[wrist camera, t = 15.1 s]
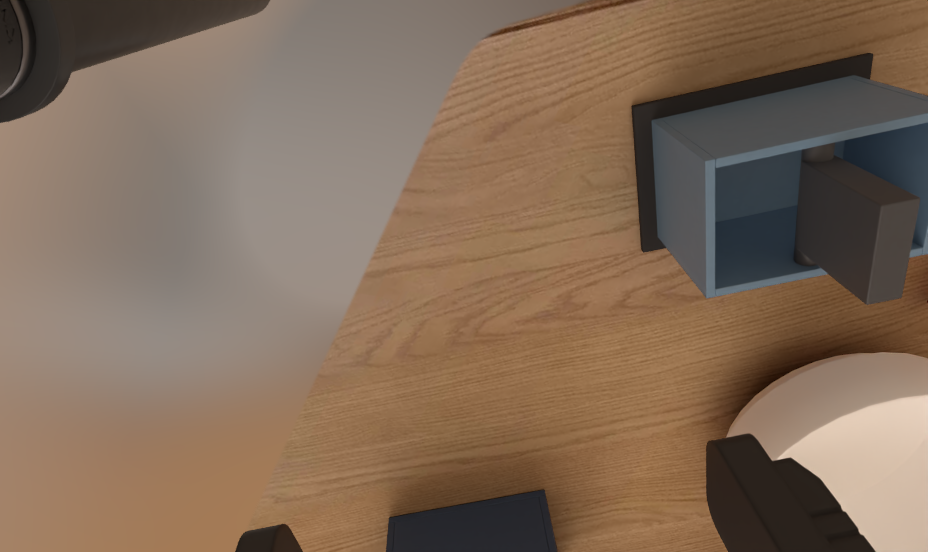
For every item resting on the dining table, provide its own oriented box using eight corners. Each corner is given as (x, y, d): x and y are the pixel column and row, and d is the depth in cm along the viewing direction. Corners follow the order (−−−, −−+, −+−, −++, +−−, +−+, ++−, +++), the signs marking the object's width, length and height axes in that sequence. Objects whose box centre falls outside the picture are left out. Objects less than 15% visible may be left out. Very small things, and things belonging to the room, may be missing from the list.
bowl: (668, 372, 45) (714, 454, 37) (932, 281, 42) (1039, 351, 34) (716, 522, 54) (761, 612, 46) (936, 456, 51) (1021, 541, 43)
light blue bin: (657, 236, 38) (749, 353, 27) (651, 120, 35) (755, 199, 23) (839, 198, 38) (1013, 302, 26) (854, 74, 34) (1065, 134, 22)
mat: (641, 250, 39) (643, 252, 39) (631, 105, 35) (633, 107, 34) (849, 207, 38) (853, 209, 38) (869, 52, 34) (873, 53, 33)
